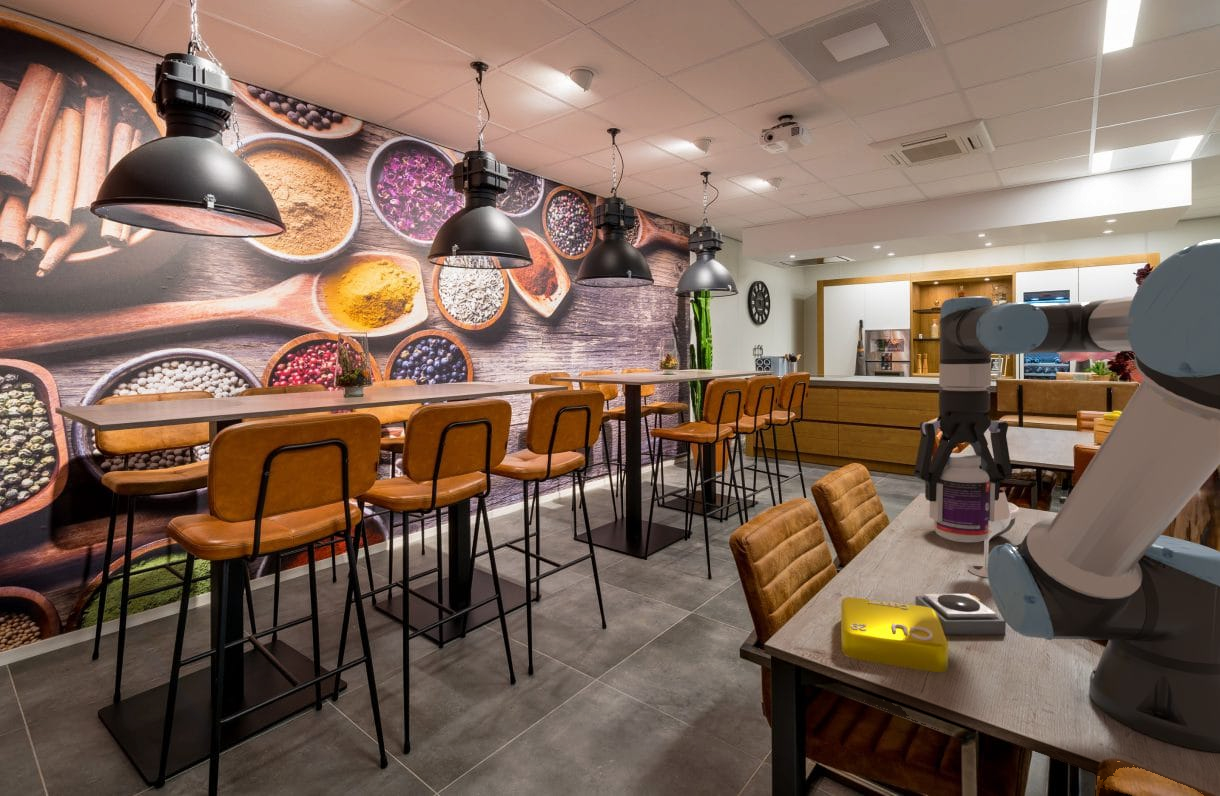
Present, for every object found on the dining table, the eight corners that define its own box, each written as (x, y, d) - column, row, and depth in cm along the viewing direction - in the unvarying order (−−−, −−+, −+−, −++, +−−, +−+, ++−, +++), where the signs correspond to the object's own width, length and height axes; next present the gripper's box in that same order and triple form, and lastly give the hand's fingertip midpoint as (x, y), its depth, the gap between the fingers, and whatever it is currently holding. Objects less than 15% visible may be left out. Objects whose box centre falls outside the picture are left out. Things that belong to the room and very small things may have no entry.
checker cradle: (1005, 634, 96) (1005, 618, 96) (944, 635, 97) (945, 618, 97) (970, 608, 106) (970, 593, 106) (915, 608, 107) (915, 593, 106)
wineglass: (969, 578, 120) (971, 493, 119) (958, 563, 128) (960, 484, 126) (1015, 581, 118) (1017, 495, 116) (1000, 567, 125) (1003, 486, 124)
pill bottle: (996, 545, 95) (999, 460, 94) (943, 543, 97) (945, 459, 96) (976, 531, 103) (978, 452, 102) (927, 529, 105) (929, 451, 104)
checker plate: (995, 624, 97) (996, 612, 97) (947, 625, 98) (947, 612, 97) (968, 604, 105) (968, 592, 105) (923, 604, 106) (924, 592, 105)
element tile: (934, 630, 99) (935, 603, 99) (949, 677, 85) (950, 646, 85) (841, 617, 105) (841, 592, 104) (841, 659, 91) (841, 630, 91)
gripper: (1012, 386, 102) (1008, 512, 103) (892, 388, 102) (890, 513, 104) (1042, 388, 94) (1038, 524, 96) (912, 391, 95) (910, 526, 97)
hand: (961, 518), depth 100 cm, fingers closed on pill bottle, 8 cm apart
